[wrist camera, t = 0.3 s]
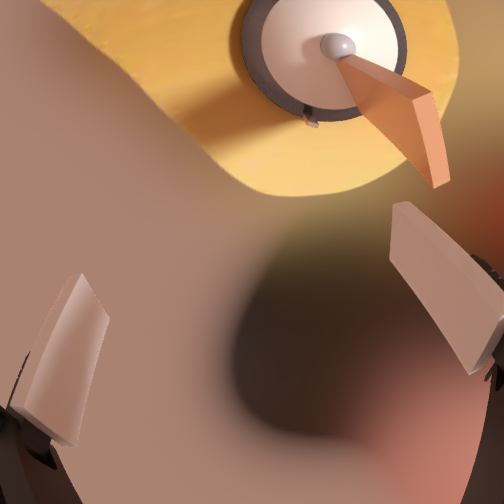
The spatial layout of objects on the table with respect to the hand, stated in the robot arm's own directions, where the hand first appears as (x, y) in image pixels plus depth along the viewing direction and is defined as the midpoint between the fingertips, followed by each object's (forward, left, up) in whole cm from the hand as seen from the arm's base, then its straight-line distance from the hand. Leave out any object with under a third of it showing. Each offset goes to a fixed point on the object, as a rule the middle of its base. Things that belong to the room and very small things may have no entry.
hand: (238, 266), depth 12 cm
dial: (-11, +5, -25) cm, 27 cm away
